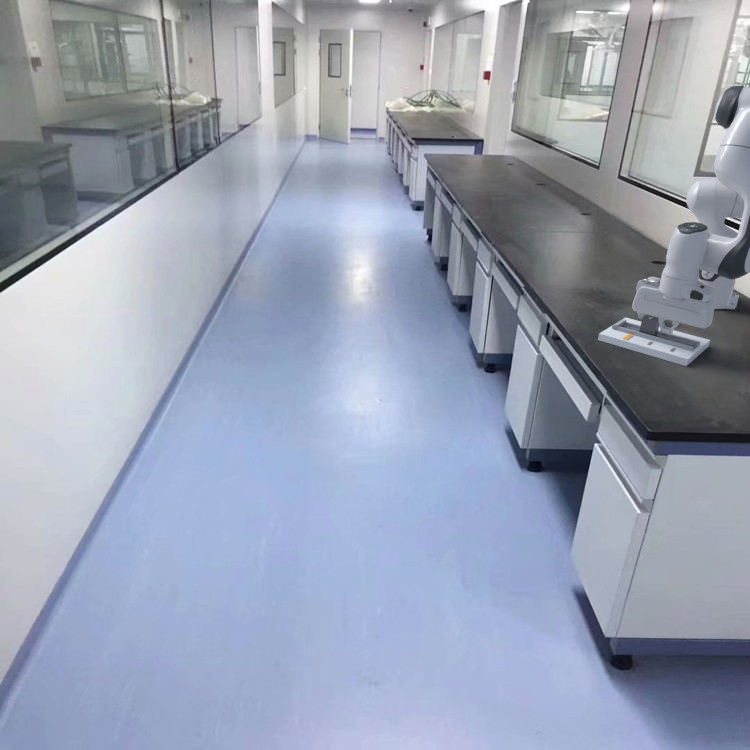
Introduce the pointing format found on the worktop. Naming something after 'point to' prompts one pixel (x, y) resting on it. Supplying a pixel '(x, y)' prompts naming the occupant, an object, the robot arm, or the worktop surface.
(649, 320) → the fader tab
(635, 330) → the console
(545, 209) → the worktop surface
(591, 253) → the worktop surface
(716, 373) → the worktop surface
